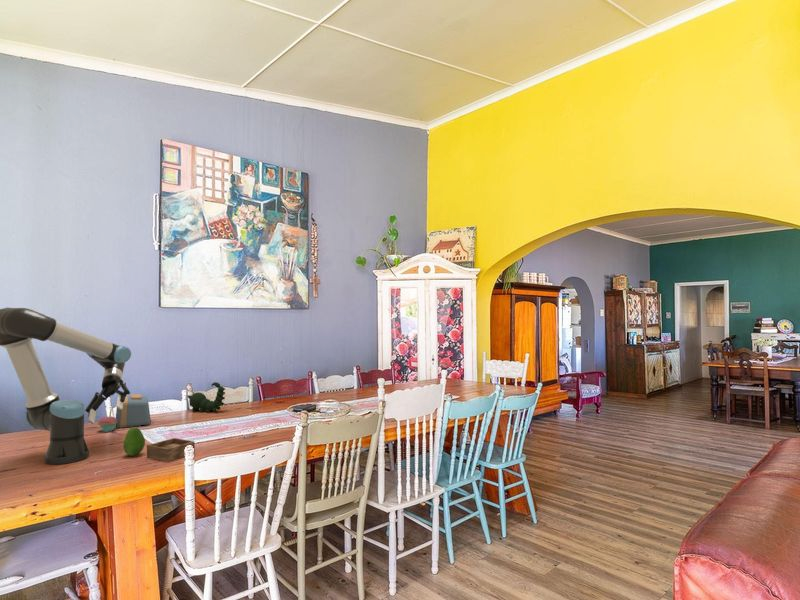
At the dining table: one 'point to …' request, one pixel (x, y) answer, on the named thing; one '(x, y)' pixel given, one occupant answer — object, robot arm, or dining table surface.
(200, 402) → the toy figurine
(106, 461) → the dining table surface
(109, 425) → the cupcake
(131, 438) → the avocado
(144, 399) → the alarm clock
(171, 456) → the walnut stand
